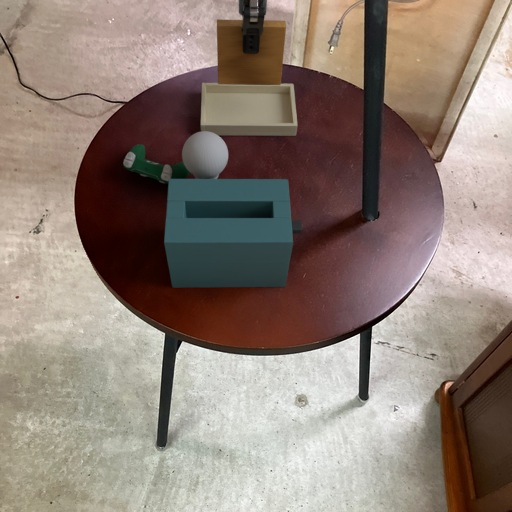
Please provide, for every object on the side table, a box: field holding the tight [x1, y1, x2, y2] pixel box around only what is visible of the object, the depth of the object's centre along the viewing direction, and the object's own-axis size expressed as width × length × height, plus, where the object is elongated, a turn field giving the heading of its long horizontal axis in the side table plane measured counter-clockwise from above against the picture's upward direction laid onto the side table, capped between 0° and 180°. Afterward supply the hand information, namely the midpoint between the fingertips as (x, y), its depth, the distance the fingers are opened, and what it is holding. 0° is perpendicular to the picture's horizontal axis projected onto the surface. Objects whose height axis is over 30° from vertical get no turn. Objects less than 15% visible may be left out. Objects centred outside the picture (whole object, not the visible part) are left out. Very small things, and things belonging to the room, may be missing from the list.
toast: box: [216, 18, 287, 85], centre depth 75 cm, size 9×1×10 cm, turn 91°
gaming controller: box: [122, 143, 191, 185], centre depth 76 cm, size 9×4×6 cm
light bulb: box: [181, 130, 229, 179], centre depth 72 cm, size 6×6×10 cm
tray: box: [200, 82, 298, 137], centre depth 84 cm, size 14×9×2 cm, turn 92°
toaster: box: [163, 178, 303, 289], centre depth 66 cm, size 16×9×10 cm, turn 92°
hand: (250, 47), depth 75 cm, fingers closed on toast, 1 cm apart
